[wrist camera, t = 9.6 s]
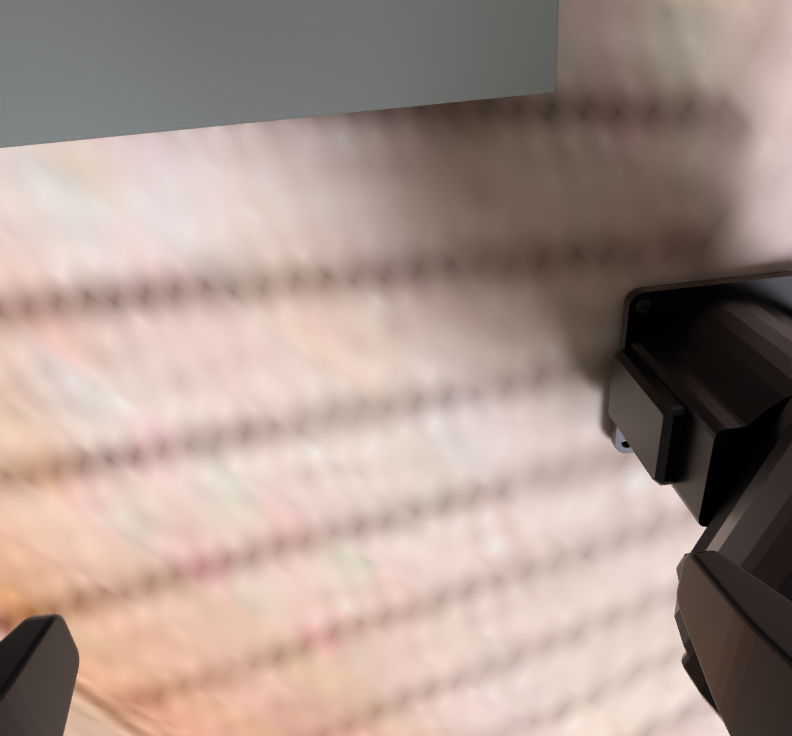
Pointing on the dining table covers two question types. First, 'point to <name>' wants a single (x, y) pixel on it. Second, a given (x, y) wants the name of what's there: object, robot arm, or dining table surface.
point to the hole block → (256, 61)
